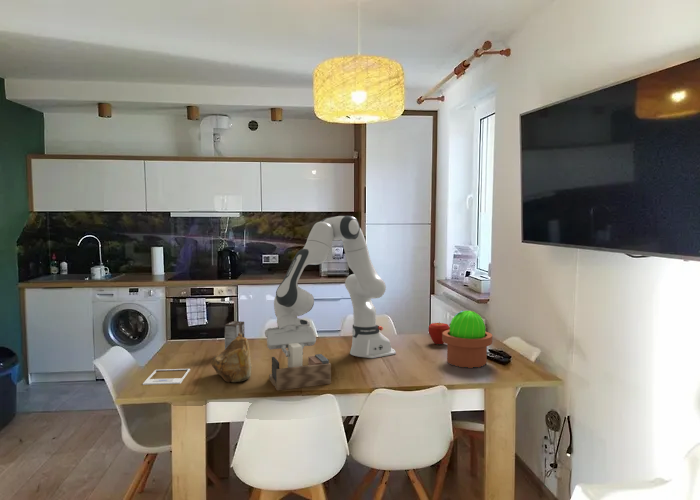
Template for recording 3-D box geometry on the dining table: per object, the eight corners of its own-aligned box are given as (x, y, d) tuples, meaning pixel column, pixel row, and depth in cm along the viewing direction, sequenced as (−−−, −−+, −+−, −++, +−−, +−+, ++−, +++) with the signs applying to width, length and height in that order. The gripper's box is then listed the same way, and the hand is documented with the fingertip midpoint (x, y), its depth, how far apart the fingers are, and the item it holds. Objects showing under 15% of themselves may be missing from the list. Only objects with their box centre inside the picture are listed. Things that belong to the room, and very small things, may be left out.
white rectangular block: (297, 370, 207) (297, 341, 206) (302, 376, 199) (302, 346, 198) (287, 371, 205) (287, 342, 204) (292, 377, 198) (292, 347, 197)
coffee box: (232, 353, 245) (232, 320, 244) (245, 353, 244) (244, 321, 243) (224, 358, 236) (224, 324, 235) (237, 359, 235) (236, 325, 234)
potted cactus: (499, 362, 231) (501, 309, 229) (476, 373, 215) (478, 315, 213) (457, 353, 246) (458, 303, 244) (433, 363, 229) (434, 309, 228)
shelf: (320, 373, 214) (320, 350, 213) (330, 383, 201) (330, 359, 200) (269, 379, 206) (269, 355, 205) (277, 390, 193) (276, 364, 192)
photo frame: (142, 383, 199) (155, 369, 216) (142, 385, 199) (155, 371, 217) (180, 381, 200) (190, 368, 218) (180, 384, 200) (190, 370, 218)
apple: (449, 342, 268) (450, 320, 267) (449, 347, 257) (449, 324, 257) (428, 341, 270) (429, 318, 270) (427, 345, 260) (427, 323, 259)
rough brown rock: (216, 369, 221) (213, 337, 219) (254, 365, 222) (251, 333, 221) (207, 389, 198) (202, 353, 196) (249, 384, 199) (245, 348, 198)
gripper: (265, 324, 205) (270, 354, 196) (312, 320, 212) (320, 349, 204) (263, 332, 209) (268, 362, 201) (309, 328, 216) (316, 356, 208)
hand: (294, 355), depth 202 cm, fingers open, 4 cm apart
